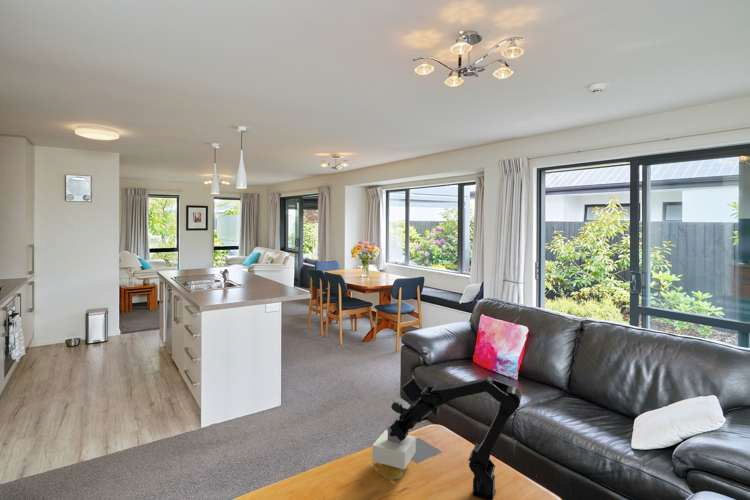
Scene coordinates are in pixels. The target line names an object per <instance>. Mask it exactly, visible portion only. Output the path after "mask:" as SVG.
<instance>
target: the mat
mask: <svg viewBox="0 0 750 500" xmlns="http://www.w3.org/2000/svg"><path fill="white" fill-rule="evenodd" d="M441 453H443V450H442V451H441V450H440V449H439V448H437V447H435V446H434V445H432V444H430V443H428V442H427V441H425V440H424V439H422V438H420V437H416V452H415V454H414V455H413V457H412V459H411V460H410V461H413V462H414V463H416V464H419V463H421V462H424V461H426V460H427V459H430V458H432V457H434V456H436V455H439V454H441Z"/></svg>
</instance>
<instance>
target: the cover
mask: <svg viewBox="0 0 750 500" xmlns="http://www.w3.org/2000/svg"><path fill="white" fill-rule="evenodd" d="M391 425H392V424H388V425H387V429H385V430H384V431H383V432H382V433H381V435H380V436H379V437H378V438H377V440H376V441H374V443H373V444H372V449H371V450H372V451H371V452H372V453H371V454H372V456H371V457H372V458H371V460H372V462H375V463H379V464H380V465H381V464H385V465H389V466H393V467H397V468H401V469H403V470H406V468H407V467H408V465H409V463H410V462H411V461H412V460H411V459H412V457H413V455H414V454H415V452H416V439H417V437H416V436H414V435H409V434H408V435H407V437H406V438H405V439H404V440H403V441H400V440H399V439H398V438H397V436H392V437H391V436H390V435H389V434H390V433H391V431H392V430H391V428H390V426H391Z"/></svg>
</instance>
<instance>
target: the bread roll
mask: <svg viewBox="0 0 750 500" xmlns="http://www.w3.org/2000/svg"><path fill="white" fill-rule="evenodd" d="M379 473H380V475H381V476H382V477H384V478H385V479H386V480H388V481H392V480H399V479H401V478H402V477H403V476H404V469H401V468H397V467H393V466H389V465H385V464H381V463H380V465H379Z"/></svg>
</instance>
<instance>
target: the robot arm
mask: <svg viewBox="0 0 750 500" xmlns="http://www.w3.org/2000/svg"><path fill="white" fill-rule="evenodd" d="M400 390H401V392H403V394H404V395H405V396H406V398H407V399H408V400H409V401H410V402H412V403H411V404H410V403H409V402H408V401H406V400H405V399H403V398H402V397H400V396H397V397H396V399H394V401H393V403H392V404H391V409H392V410H393V411H394V412H395V413H397V414H399V419H398V418H396V420H394V422H393V423H392V424H390V425H391V426H390V428H391V430H392V431H391V433H390V434H389V435H390V436H391V437H392V436H397V438H398V439H399V440H400V441H403V440H404V439H405V438H406V437H407V435H409V430H412V429H414V427H415V426H416V425H417V424H420V423H421V422H422V420H423V419H425V418H426V417H427V416H428V415H429V414H431V413H433V414H434V416H437V415H438V414H439V412H440V407H442V406H443V405H445V404H448V403H449V402H451V401H453V400H455V399H458V398H463V397H464V398H465V397H467V396H471V395H478V394H481V393H487V394H489V395H490V396H491V397H492V398H493V399H495V400H496V401H497V402H499V407H498V411H497V413H496V415H495V417H494V418H493V420H492V423H491V425H490V426H489V429H488V431H487V433H486V434H485V437H484V439H483V440H482V441H481V443H480V444H479V443H478V442H475V444H474V447H473V449H472V450H471V452H470V455H469V457H468V461H469V462H468V463H469V464H468V467H469V470H470V471H471V472H472V473H473V479H472V491H473V494H472V495H473V497H475V498H480V499H483V500H494V497H495V494H496V488H495V487H496V475H494V474H495V470H496V469H495V468H496V465H495V464H494V462H493V461H492V460H491V459H490V458H491V455H492V452H493V450H494V447H495V445H496V444H497V441H498V439H499V438H500V436H501V433H502V432H503V430H504V428H505V425H506V424H507V422H508V420H509V419H510V417H512V416H513V415H514V414H515V412H516V411H517V410H518V409H519V407H520V406H521V401H522V400H521V399H522V393H521V390H520V389H519V388H517V387H515V386H514V385H513V386H512V385H511V386H510V385H508V384H507V383H505V382H502V381H499V380H496V379H494V378H492V377H491V376H485V377H483V378H482V377H481V378H479V379H475V380H470V381H466V382H463V383H457V384H447V383H446V384H435V385H434V386H425V387H423V386H422V385H421V384H420V383H419V381H418V379H417V378H416V377H415V376H414V377H413V378H412V379H410V380H408V381H407V382H406V383H405V384H404V385H403V386H402V387H400ZM417 400H418V401H417ZM413 402H415V403H413Z"/></svg>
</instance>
